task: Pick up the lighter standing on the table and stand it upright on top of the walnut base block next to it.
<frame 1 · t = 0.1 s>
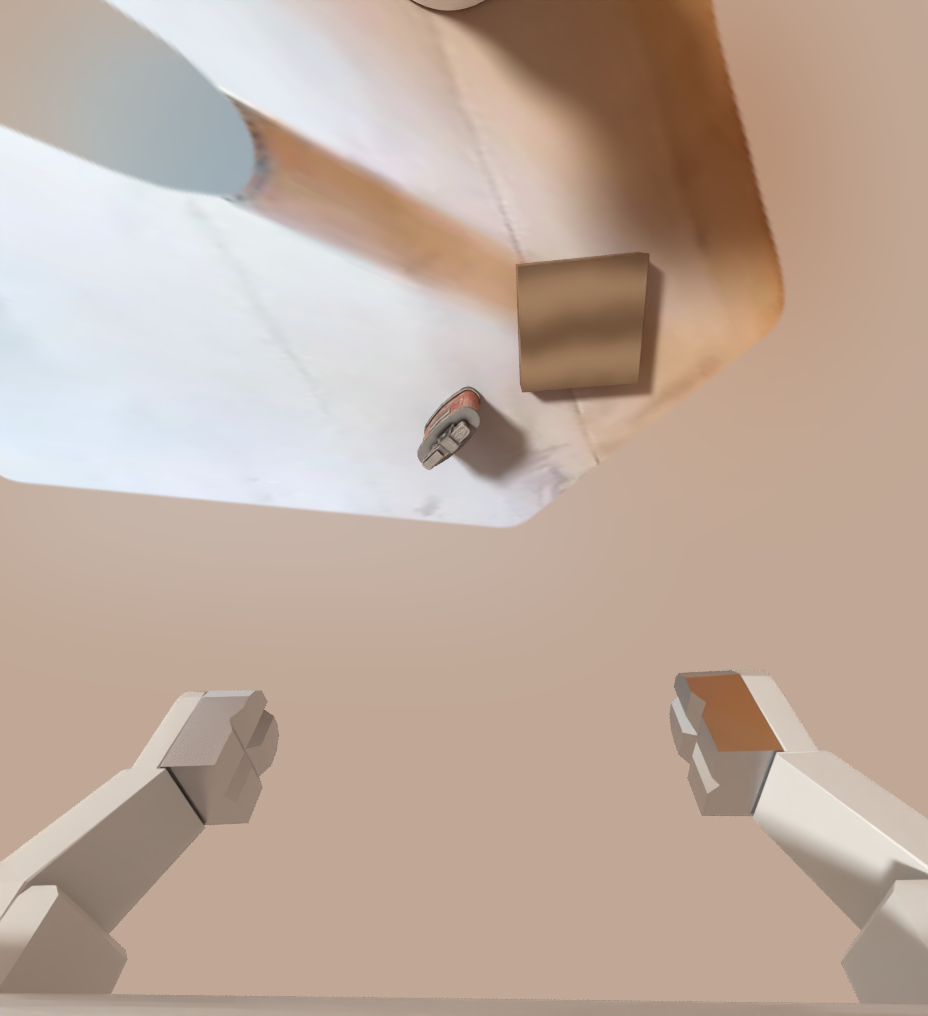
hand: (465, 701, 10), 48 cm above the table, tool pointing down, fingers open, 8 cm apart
walnut base: (575, 322, 51), on the table
lighter: (452, 413, 57), on the table
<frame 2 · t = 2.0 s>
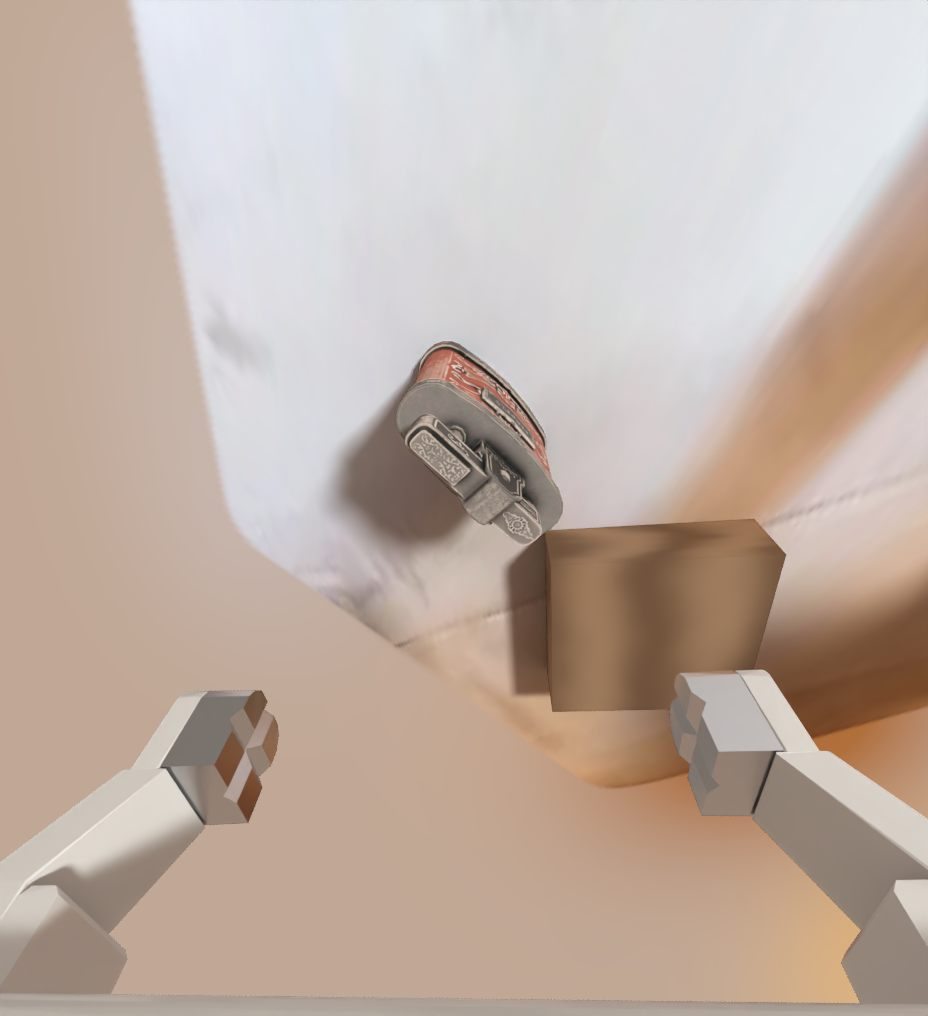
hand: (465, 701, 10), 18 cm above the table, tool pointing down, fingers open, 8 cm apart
walnut base: (639, 602, 32), on the table
lighter: (484, 404, 26), on the table
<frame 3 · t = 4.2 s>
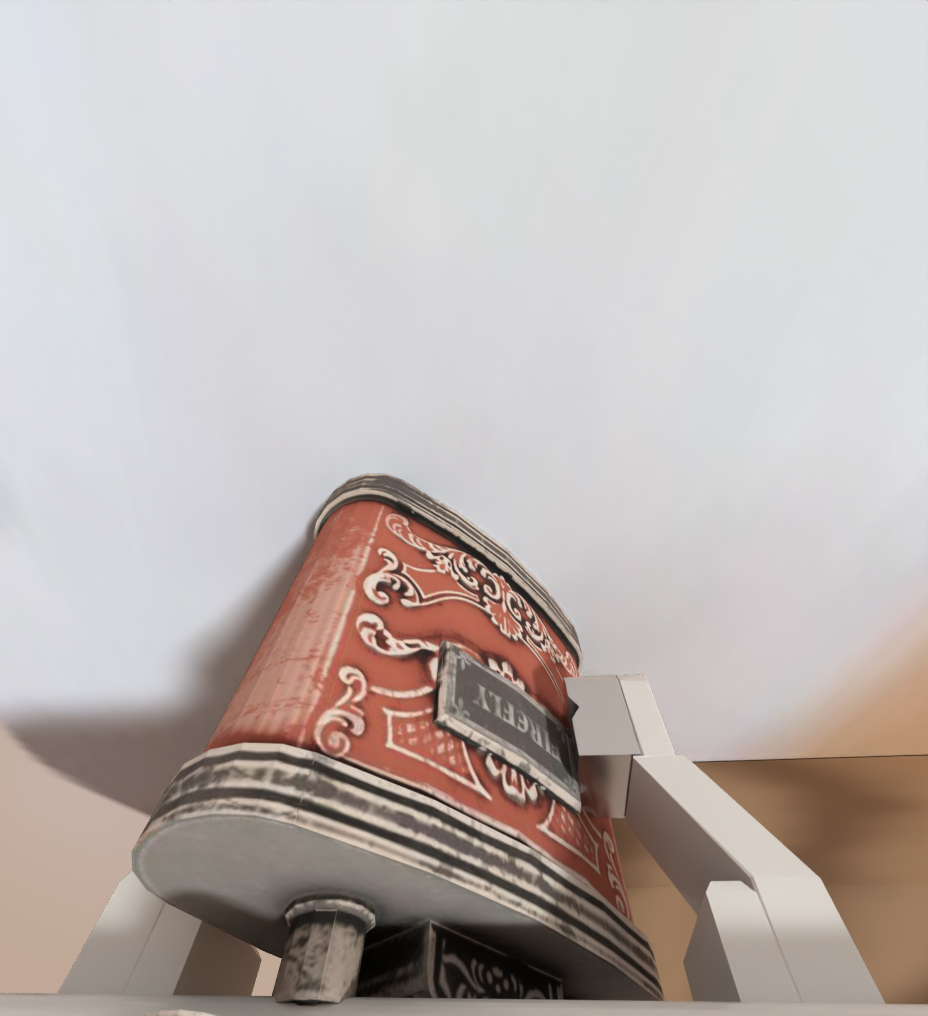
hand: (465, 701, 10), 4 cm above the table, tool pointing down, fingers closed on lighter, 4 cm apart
walnut base: (726, 853, 19), on the table
lighter: (459, 581, 13), on the table, touching gripper
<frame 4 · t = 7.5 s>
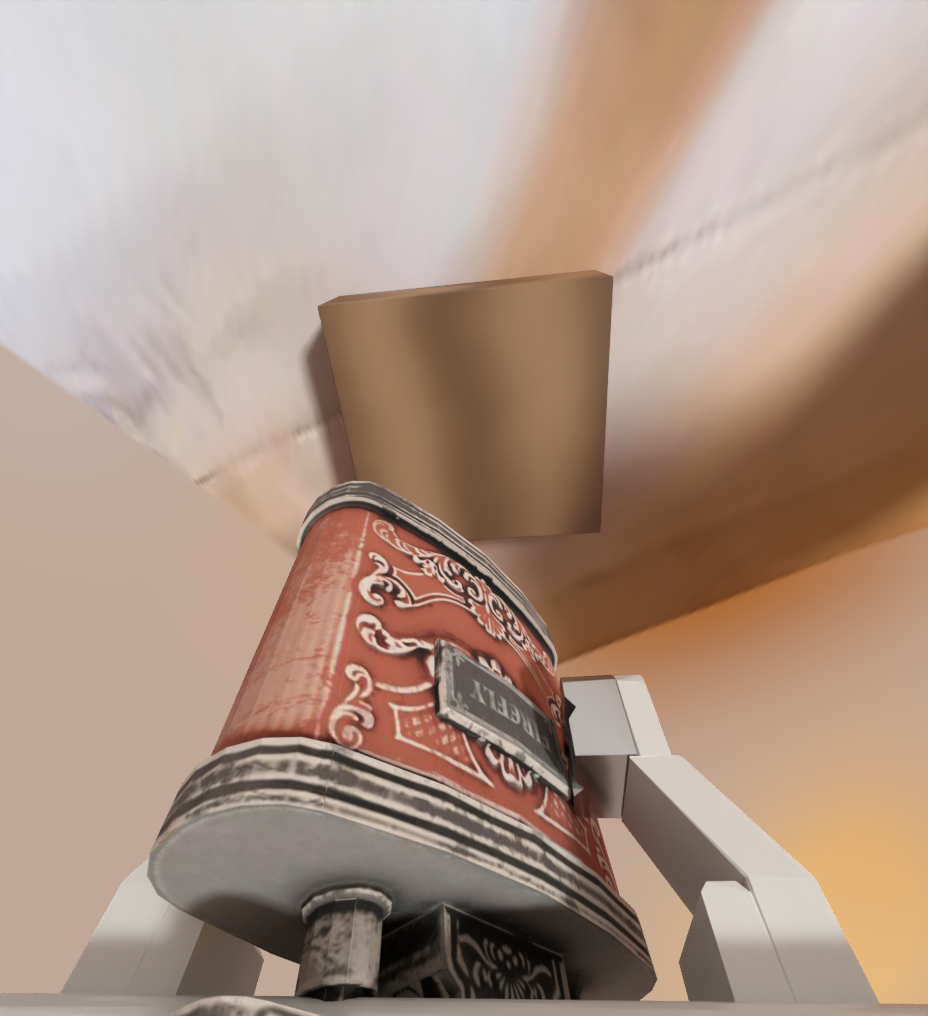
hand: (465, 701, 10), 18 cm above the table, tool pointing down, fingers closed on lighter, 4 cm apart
walnut base: (475, 407, 26), on the table
lighter: (438, 586, 13), point 14 cm above the table, touching gripper
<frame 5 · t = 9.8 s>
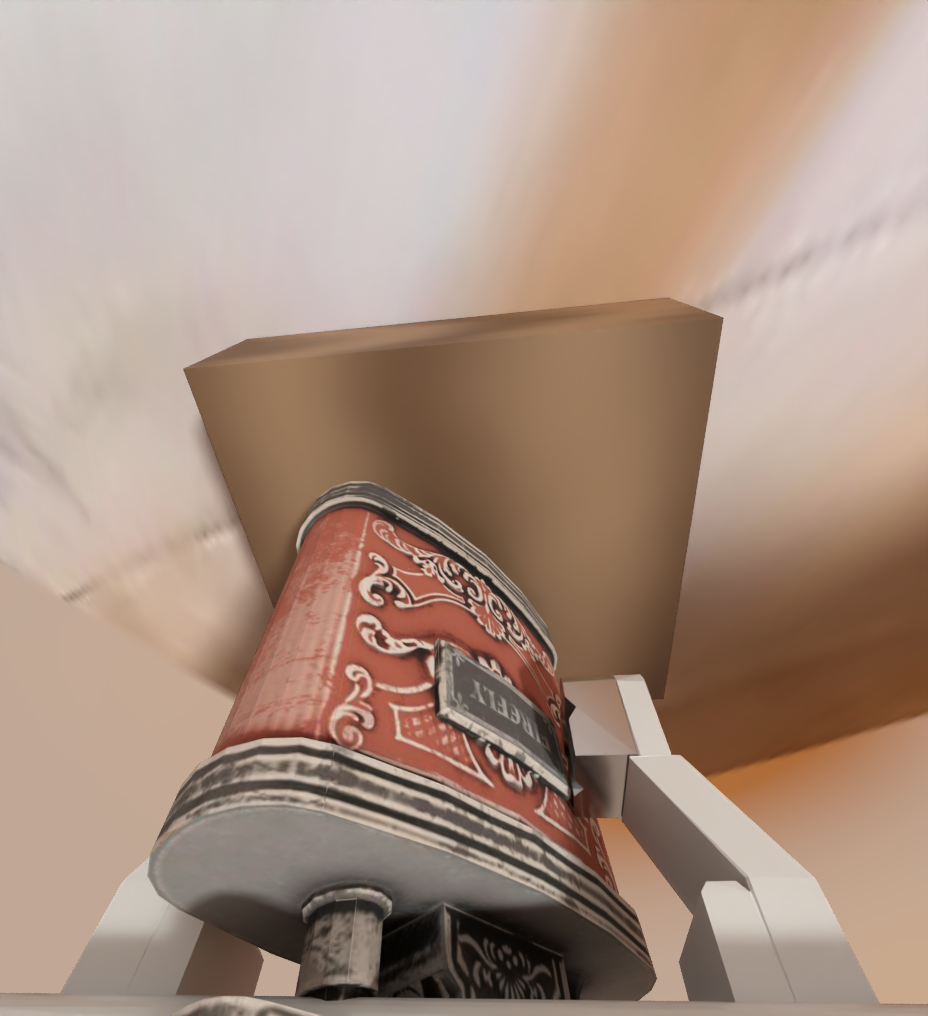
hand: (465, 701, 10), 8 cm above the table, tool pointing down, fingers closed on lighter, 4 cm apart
walnut base: (469, 503, 17), on the table
lighter: (438, 587, 13), point 4 cm above the table, touching gripper
when the fingers open (8 cm above the table, at t = 10.4 s): lighter stays where it is, resting on walnut base.
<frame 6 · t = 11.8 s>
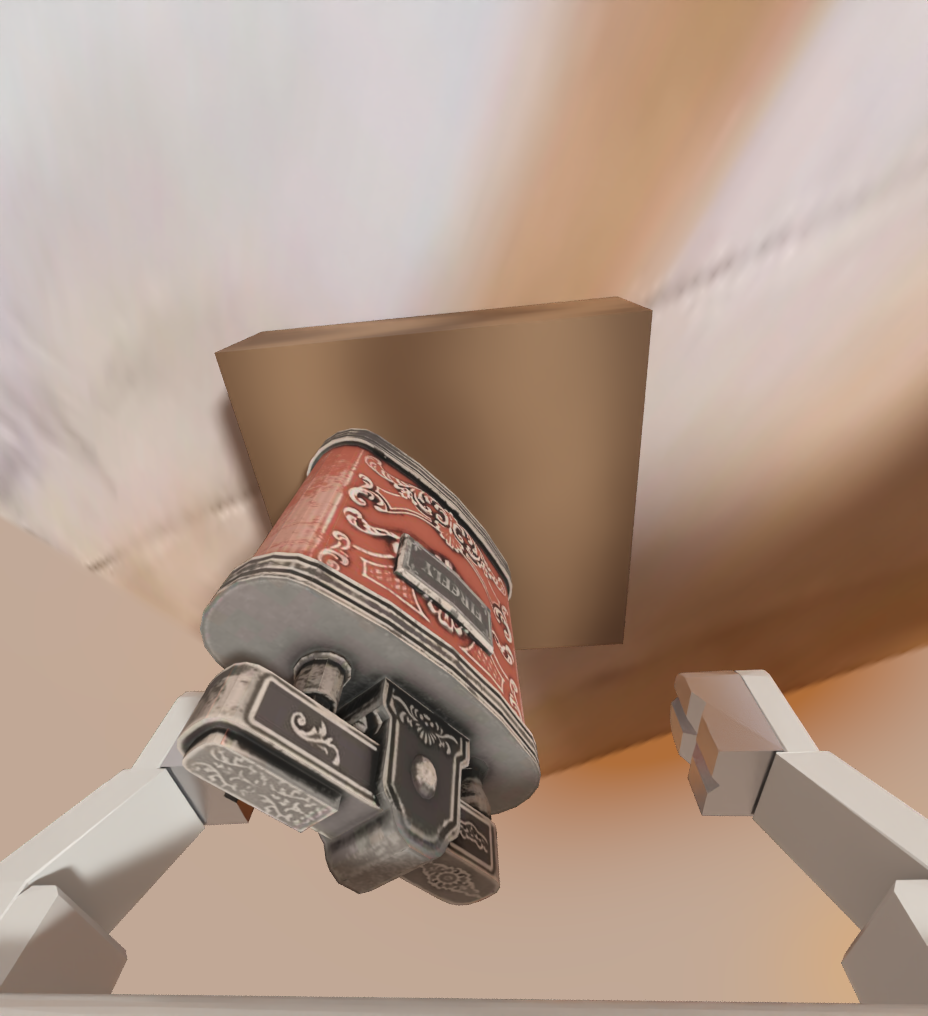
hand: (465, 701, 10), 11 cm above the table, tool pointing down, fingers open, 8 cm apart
walnut base: (454, 476, 19), on the table
lighter: (418, 522, 16), point 3 cm above the table, touching walnut base
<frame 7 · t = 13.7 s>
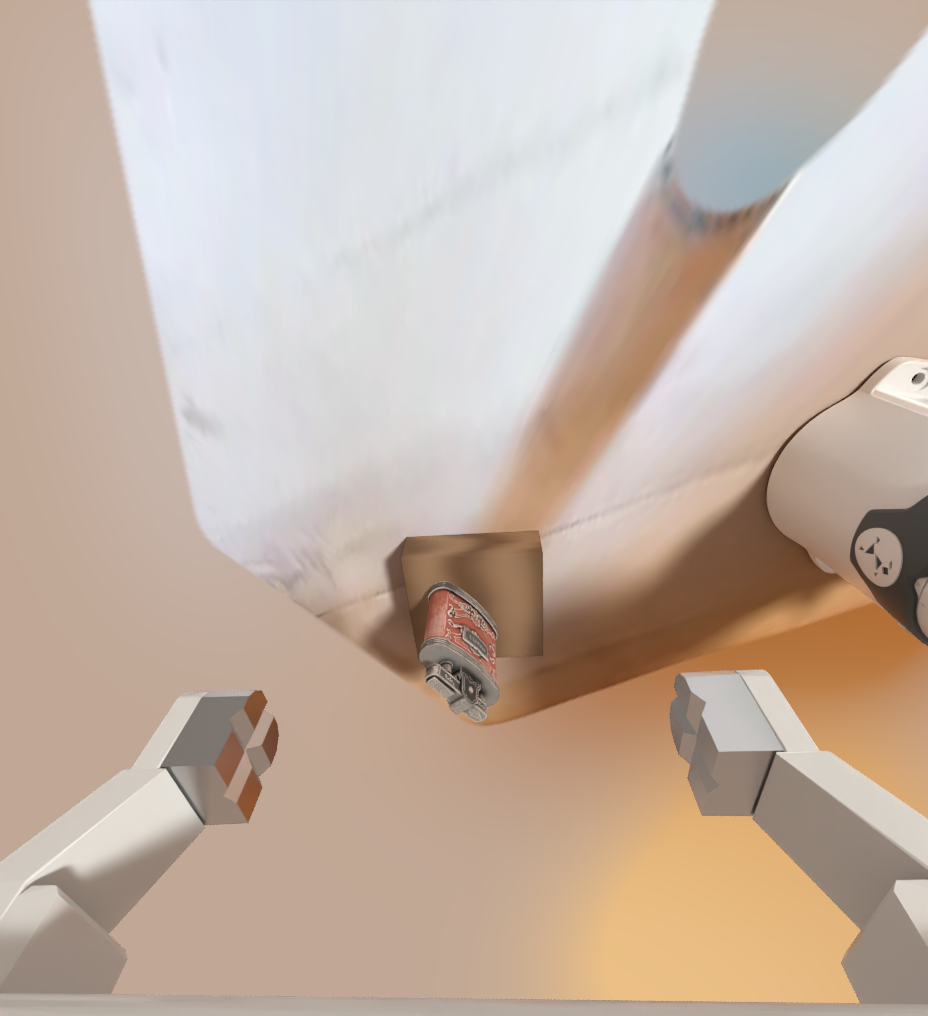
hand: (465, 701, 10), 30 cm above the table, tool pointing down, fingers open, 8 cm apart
walnut base: (476, 586, 47), on the table
lighter: (463, 609, 44), point 3 cm above the table, touching walnut base
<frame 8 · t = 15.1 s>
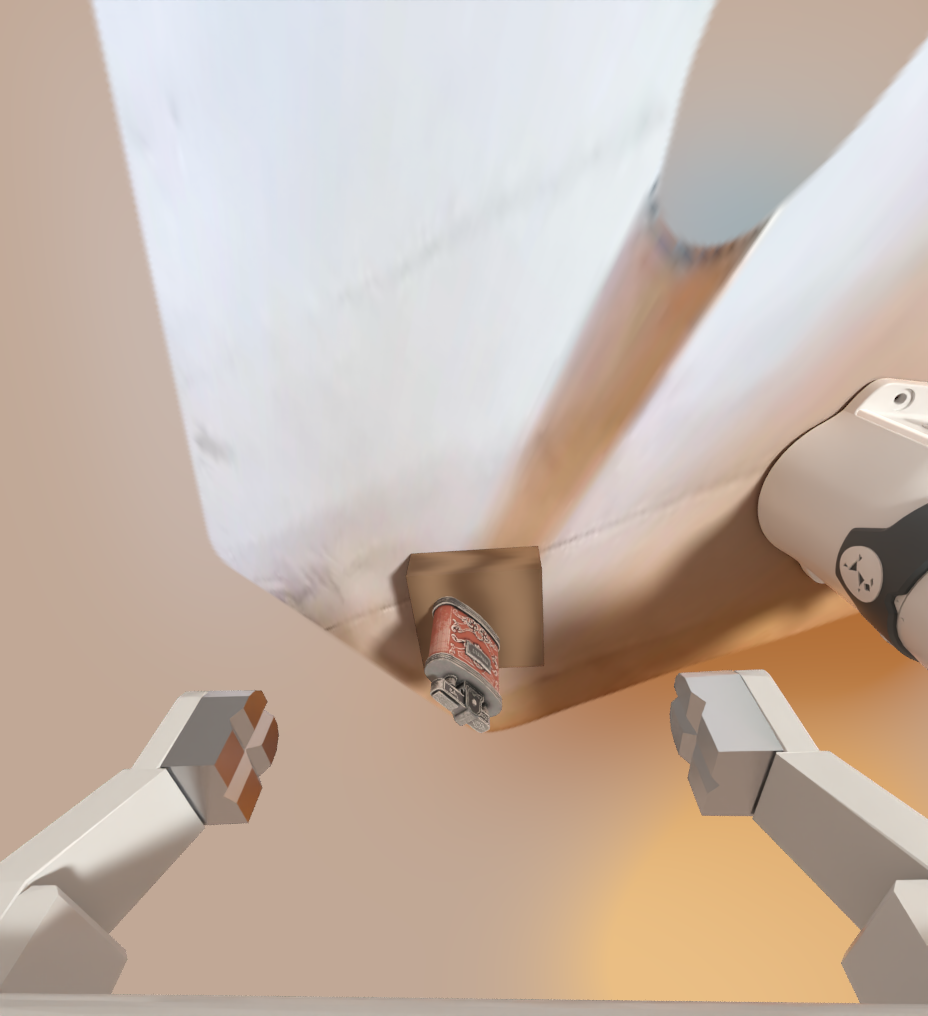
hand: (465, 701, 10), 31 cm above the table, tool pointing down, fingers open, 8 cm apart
walnut base: (479, 599, 49), on the table
lighter: (467, 623, 46), point 3 cm above the table, touching walnut base
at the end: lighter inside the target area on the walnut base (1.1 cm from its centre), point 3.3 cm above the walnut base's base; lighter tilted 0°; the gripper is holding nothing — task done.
